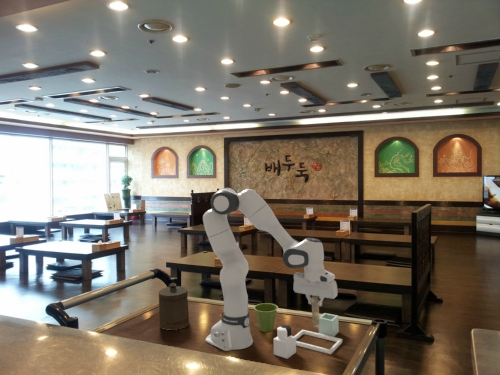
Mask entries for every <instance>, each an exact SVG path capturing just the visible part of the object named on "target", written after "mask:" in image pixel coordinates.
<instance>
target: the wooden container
mask: <svg viewBox="0 0 500 375" xmlns="http://www.w3.org/2000/svg"><path fill="white" fill-rule="evenodd" d="M188 296H189V294H188V288H187V287H185V286H181V285H179V286H178V285H177V284H176V283H175V282H171V283H169V286H166V287H164V288H161V289H160V290H158V312H159V316H158V317H159V327H160V326H161V327H162V328H165V329H170V330H175V331H177V330H176V329H180V330H183V329H185V328H187V327H188V326H189V324H190V317H189V315H190V314H189V301H188V300H189V298H188ZM182 328H183V329H182Z"/></svg>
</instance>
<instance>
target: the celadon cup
mask: <svg viewBox="0 0 500 375" xmlns="http://www.w3.org/2000/svg"><path fill="white" fill-rule="evenodd" d="M339 325H340V324H339V315H337V314H332V313H326V312H324V313H322V314H321V315H319V328H318V333H319V334H323V335H328V336H332V337H336V335H337V334H339V332H340V330H339Z"/></svg>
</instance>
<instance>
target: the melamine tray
mask: <svg viewBox="0 0 500 375" xmlns="http://www.w3.org/2000/svg"><path fill="white" fill-rule="evenodd" d="M303 335H306V336H310V337H314V338H319V339H322V340H328V341H331V342H335V343H334V344H333V345H332V346H331V347H330V348H326V347H321V346H319V345H318V346H317V345H314V344H310V343H307V342H302V341H299V340H298V339H299V338H300V337H302V336H303ZM294 337H296V347H300V348H303V349H307V351H309V352H310V350H311V352H312V353H316V354H317V352H318V354H319V355H320V354H321V353H322V356H323V355H324V356H325V354H326V357H327V356H328V357H331V355H332V354H333V353H334V352H335V351H336V350H337V349H338V348H339V347H340V346H341V345H342V343H343V338H340V337H336V336H334V337H332V336H328V335H323V334H319V332H314V331H310V330H305V329H301V330H300V331H298V333H296V334H295V335H294ZM308 349H309V350H308ZM319 352H320V353H319ZM323 353H324V354H323Z"/></svg>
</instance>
